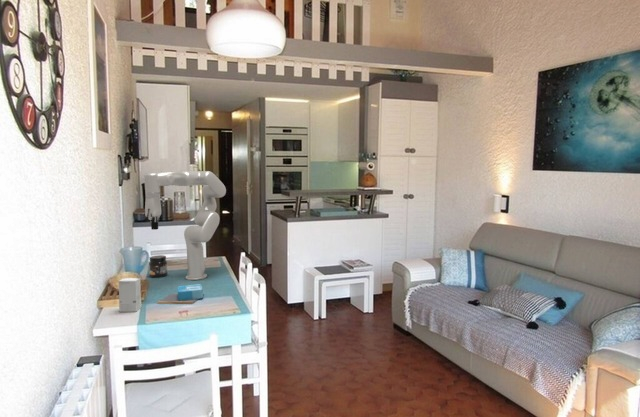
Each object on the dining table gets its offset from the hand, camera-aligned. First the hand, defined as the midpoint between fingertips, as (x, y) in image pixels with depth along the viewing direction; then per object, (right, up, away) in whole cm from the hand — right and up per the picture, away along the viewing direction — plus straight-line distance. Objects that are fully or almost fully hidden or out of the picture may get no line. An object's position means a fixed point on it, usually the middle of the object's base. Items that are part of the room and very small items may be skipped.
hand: (155, 229), depth 246 cm
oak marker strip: (+19, -35, -26) cm, 48 cm away
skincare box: (+1, -37, -34) cm, 50 cm away
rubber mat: (+20, -35, -18) cm, 44 cm away
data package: (+22, -31, -11) cm, 39 cm away
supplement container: (-10, -31, +33) cm, 46 cm away
